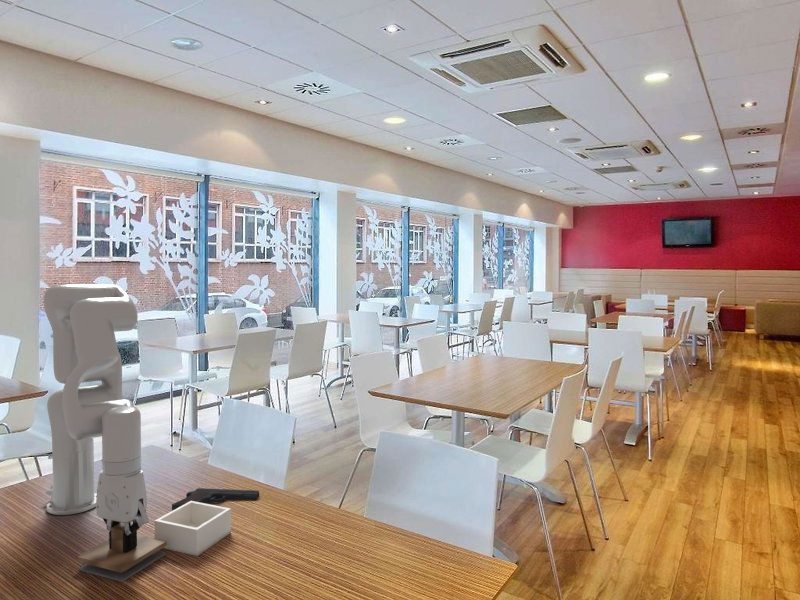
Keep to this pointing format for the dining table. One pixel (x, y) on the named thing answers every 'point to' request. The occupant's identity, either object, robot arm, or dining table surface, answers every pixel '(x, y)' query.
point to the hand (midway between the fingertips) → (123, 547)
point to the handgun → (216, 496)
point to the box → (193, 527)
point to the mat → (125, 574)
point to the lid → (120, 551)
